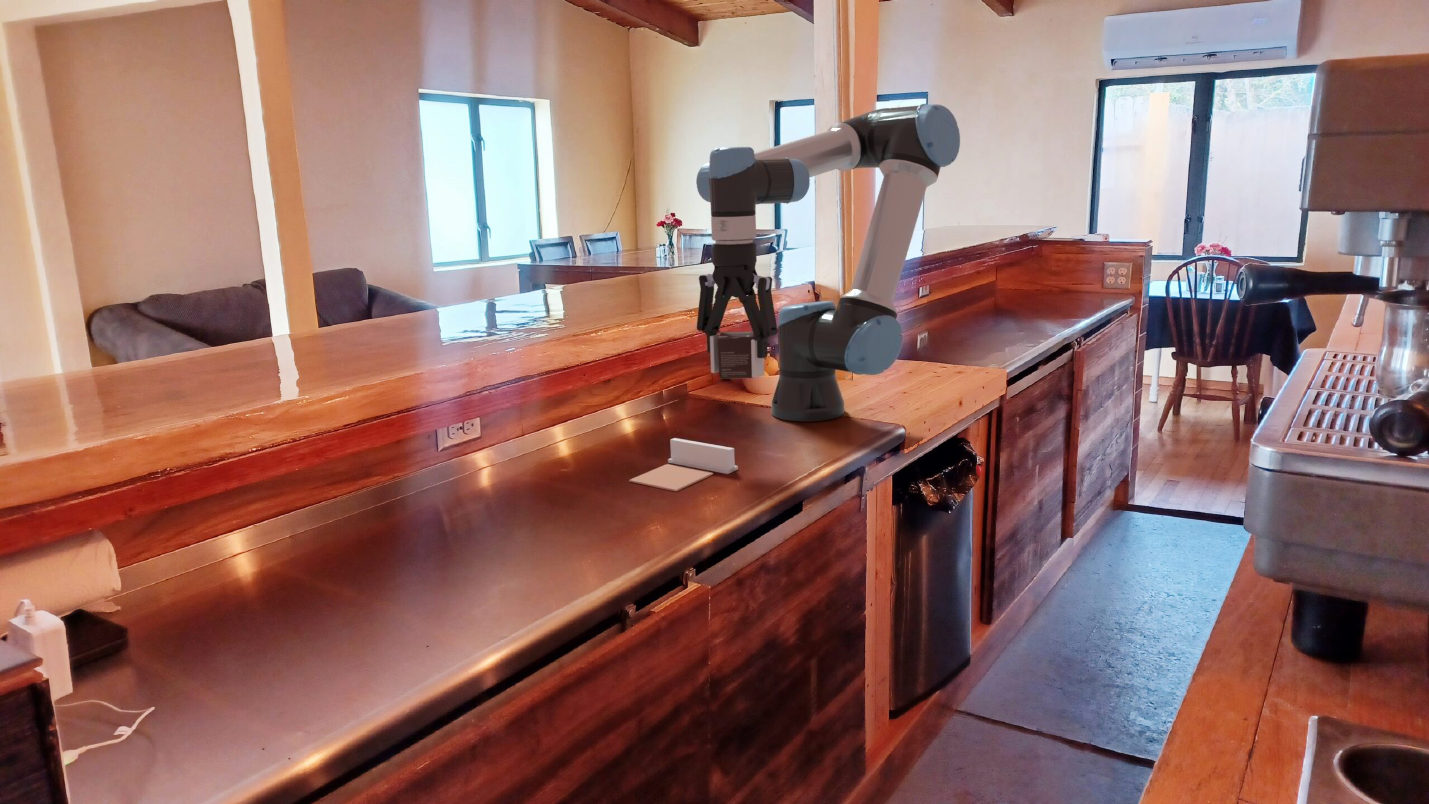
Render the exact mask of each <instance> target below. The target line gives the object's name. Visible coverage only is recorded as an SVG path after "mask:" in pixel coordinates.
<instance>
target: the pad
mask: <svg viewBox="0 0 1429 804" xmlns="http://www.w3.org/2000/svg"><path fill="white" fill-rule="evenodd" d="M713 475H714V472H712V471H711V472H710V471H707V470H702V469H695V468H691V467H686V466H681V465H676V464H674V465H673V464H671V463H666V464H664V465H662V466H659V467H657V468H654V469H651V470H649V471H647V472H644V473H642V474H640V475H638V476H635V477H633V478H631V479H629V480H628V481H629V483H634V484H639V485H644V486H649V487H654V488H657V489H663V490H667V491H673V492H679V491H680V490H683V489H685V488H687V487H689V486H691V485H693V484H695V483H698V482H700V481H702V480H704V479H706V478H709V477H711V476H713Z"/></svg>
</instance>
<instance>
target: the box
mask: <svg viewBox="0 0 1429 804" xmlns="http://www.w3.org/2000/svg"><path fill="white" fill-rule="evenodd" d="M719 334H720V335H719V337H718V357H719V372H718V376H719V379H720V380H723V379H725V380H729V379H753V378H752V358H751V340H753V338H755V336H754V333H753V331H724V332H723V331H721V332H720V333H719Z"/></svg>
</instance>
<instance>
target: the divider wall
mask: <svg viewBox="0 0 1429 804" xmlns="http://www.w3.org/2000/svg"><path fill="white" fill-rule="evenodd" d="M669 443H670V444H669V445H670V458H668V459H667V464H672V465H673V464H674V465H677V466H682V467H688V468H693V469H695V468H696V469H698V470H703V471H708V472H710V471H711V472H716V473H721V474H724V475H725V474H726V475H728V474H730V473H733V472H735V471H737V470H738V469H739V466H738V465H736V463H735V448H734V447H729V446H728V447H727V446H723V445H716V444H711V443H705V442H702V441H701V442H699V441H694V440H689V439H682V438H678V437H674V438H671V439H670V441H669Z"/></svg>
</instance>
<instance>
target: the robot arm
mask: <svg viewBox="0 0 1429 804" xmlns="http://www.w3.org/2000/svg"><path fill="white" fill-rule="evenodd" d="M960 147H961V135H960V128H959V126H958V122H957V119H956V117H955V116H954V114H953V113H952V112H951V110H950V109H949V108H947V107H946V106H944V105H942V104H936V103H935V104H927V103H921V104H920V105H913V106H912V105H911V106H910V105H909V106H899V107H898V106H897V107H890V108H889V107H888V108H887V107H886V108H885V107H883V108H878V109H875V110H872V111H868V112H866V113H863V114H860V115H856V116H854V117H851V118H849V119H846V120H843V121H839V122H836V123H834V124H832V125H831V126H830V127H829V128H828V129H827V131H824V132H821V133H818V134H817V133H816V134H813V135H810V136H807V137H804V138H799V139H797V140H794V141H790V142H787V143H782V144H779V145H775V146H772V147H769V148H765V149H762V150H758V151H754V148H753V147H750V146H735V147H734V146H730V147H716V148H714V149H712V150H711V151H710V154H709V162H707V163H705V164H703V165H702V166H701V167H700V168H699V170H698V172H697V175H696V184H695V185H696V189H697V192H698V194H699V196H700V197H701V198H702V199H703V200H704V201H705V202H708V203H710V219H711V220H710V222H711V223H710V224H711V240H712V241H715V243H713V244H712V245H711V259H712V260H711V261H712V265H713V266H714V269H713V272H712V274H711V273H706V274H701V275H699V277H698V282H699V288H700V292H699V302H698V310H697V320H696V330H697V331H698V332H703V334H705V335H706V351H707V353H708V354H709V355H710V373H711V374H716V373H719V357H718V337H719V335H720V333H721V332H722V331H721V330H720V327H721V325H722V321H723V319H724V316H725V313H726V310H727V307H728V304H729V301H730V300H731V299H732V298H737V299H738V301H739V303H741V304H742V306H743V309H744V311H745V314H746V317H747V319H748V322H749V325H750V327H751V329H752V332H753V333H754V338H753V340H751V358H752V378H751V379H757V378H760V377H763V376H765V358H767V356H768V339H769V338H770V337H772V336H776V335H777V346H778V347H777V348H778V349H777V350H778V371H779V372H778V375H779V376H778V381H777V384H776V387H775V391H774V394H773V397H772V401H771V415H772V416H774V417H775V418H777V419H781V420H784V421H790V422H791V421H792V422H803V423H804V422H805V423H806V422H823V421H827V420H829V421H830V420H833V419H834V420H835V419H836V418H839V417H841V416H843V415H844V414H845V401H844V398H843V395H842V392H841V388H840V386H839V383H838V380H837V375H836V371H842V372H847V373H851V374H854V375H857V376H861V375H866V376H867V375H868V376H877V375H880V374H882V373H884V372H885V371H886V370H888V369H890V367H891V366H893V364H894V363H895V362H896V360H897V359H898V357H899V355H900V352H901V351H902V347H903V343H904V341H903V340H904V336H903V335H902V333H903V328H902V325H901V324H900V322H899V321H898V320H897V317H898V310H897V309H896V306H895V305H894V300H895V297H896V293H897V289H898V286H899V284H900V280H901V275H902V272H903V270H904V269H903V268H904V265H905V262H906V259H907V255H908V251H909V249H910V247H911V246H910V245H911V242H912V239H913V235H914V231H915V228H916V225H917V222H918V217H919V214H920V211H921V208H922V205H923V202H924V201H923V200H924V197H925V194H926V190H927V188H928V187H929V186H931V185H933V184H936V182H937V180H938V178H939V174H940V171H941V168H945V167H947V166H950V165H951V164H952V163H954V162H955V160H956V159H957V157H958V155H959V151H960ZM864 168H866V169H868V168H878V169H879V171H880V172H881V174H882V176H883V179H882V182H881V185H880V188H879V191H878V195H877V197H876V198H877V199H876V203H875V206H874V208H873V212H872V216H871V219H870V222H869V226H868V229H867V232H866V235H865V238H864V239H865V240H864V243H863V245H862V250H861V252H860V257H859V259H858V263H857V267H856V270H855V273H854V276H853V279H852V284H851V286H850V290H849V291H848V292H847V293H845V294H843V295H841V296H840V297H839V299H838V303H837V307H836V305H835V302H834V301H833V300H825V301H823V300H822V301H813V302H803V303H796V304H790V305H785V306H783V307H781V308H780V310H779V312H778V319H776V313H775V307H774V299H773V296H772V285H773V278H772V277H771V276H762V275H758V273H757V270H756V264H757V261H758V260H757V244H756V243H755V242H753V241H754V240H755V239H756V238H757V221H756V219H757V218H756V217H757V216H756V215H757V211H756V206H757V205H764V204H765V205H766V204H767V205H770V204H790V203H795V202H798V201H801V200H802V199H804V197H806V195H807V193H808V191H809V189H810V184H811V183H810V180H811V179H810V178H813V177H815V176H818V175H821V174H825V173H828V172H831V171H835V170H838V171H841V172H848V171H851V170H855V169H864ZM715 285H716V287H717V289H716V291H715ZM754 287H755V288H756V290H757V291H756V292H757V293H756V292H755V289H754ZM714 294H715V295H714ZM777 320H778V321H777Z"/></svg>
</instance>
